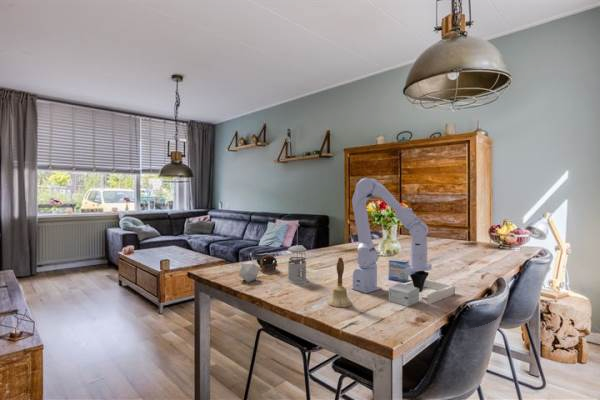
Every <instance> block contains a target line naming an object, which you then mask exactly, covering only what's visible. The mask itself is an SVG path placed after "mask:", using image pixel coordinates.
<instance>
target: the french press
mask: <svg viewBox="0 0 600 400" xmlns="http://www.w3.org/2000/svg"><path fill="white" fill-rule="evenodd" d="M295 227H296V245H292V246H290V247H288V248H287V250H288V251H289V252H293V253H296V256H292V257H291V256H290V257H289V258H288V259H289V260H288V261H287V265H288V268H287V271H288V272H287V274H288V277H287V279H286V280H285V281H286V283H288V284H294V285H300V284H306V283H309V279H308V278H307V266H306V265H307V260H306V257H305V256H304V257H303V255H306V251H307V248H305V247H304V246H302V245H299V244H298V243H299V242H298V239H299V238H298V234H299V233H298V231H299V230H298V228H299V227H300V223H298V222H297V223H295ZM298 253H299V255H301V256H298Z"/></svg>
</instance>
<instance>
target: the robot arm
mask: <svg viewBox="0 0 600 400" xmlns="http://www.w3.org/2000/svg"><path fill="white" fill-rule="evenodd" d="M373 196H374V197H377V198H381V200H383V202H385V203H386V205H388V206H389V207H390V208H391V209H392V210H393V211H394V212H395V218H396V219H397V220H398V221H399V222H400V223H401V224H402V225H403V227H405V229H406V230H408V232H409V235H410V237H411V238H410V239H411V241H410V265H409V267H408V268H407V269H405V274H406V275H408V276H409V277H410V278H411V281H413V285H414V287H417V288H419V293H422V292H423V288H424V287H423V285H424V282H425V280H426V279H427V278H428V277H429V272H427V271H431V270H432V267H433V266H432V263H428V236H427V235H428V233H429V227H428V225H427V223H426V222H424V221H422V220H423V219H422V218H419V217H418V216H417V215H416V214H415V213H414V210H413V209H412V207H408V206H403V205H402V204H401V203H399V201H398V200H397V199H396V197H394V195H393V194H392V193H391V192H390V191H389V190H388V188H387V187H385V186H384V185H383V184H382V183H381V182H379V180H378V179H376V178H372V177H371V178H369V177H363V178H361V179H359V181H358V182H357V183H356V184H355V190H354V193H353V195H352V198H351V203H352V204H351V205H352V208H353V214H354V222H355V228H356V233H357V239H358V246H357V255H356V262H357V264H358V266H357V268H355V269H354V270H353V272H352V286H351V287H350V288H351V289H352V290H355V291H357V292H361V293H365V294H368V293H372V292H375V291H378V290H381V289H382V287H381V286H378V285H377V284H378V282H377V281H378V264H377V261H378V260H379V257H380V256H379V252H378V251H377V249H376V245H375V243H374V242H373V239H372V233H371V227H370V222H369V216H368V215H369V214H368V210H367V209H368V208H367V204H366V203H367V202H368V200H369V199H371V197H373Z"/></svg>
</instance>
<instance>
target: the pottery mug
mask: <svg viewBox="0 0 600 400" xmlns="http://www.w3.org/2000/svg"><path fill="white" fill-rule="evenodd" d="M256 263H257V265H258V266H259V269H260V270H261V271H260V272H262V273H263V274H264V273H265V272H266V271H271V270H274V269H276V267H278V266H279V265H278V261H277V258H276V257H275V256H273V255H264V256H263V257H261V256H258V257H257V258H256Z"/></svg>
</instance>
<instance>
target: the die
mask: <svg viewBox="0 0 600 400" xmlns="http://www.w3.org/2000/svg"><path fill="white" fill-rule="evenodd" d="M240 266H241V267H240V268H239V272H238V276H239V277H240V278H242V279H243V280H244V281H246V282H247V283H250V282H252V281H255V280H256V279H257V278H258V275H259V270H260V267H259V266H257V265H256V264H255V263H254V262H252V261H247V262H243V263H242V264H241V265H240Z"/></svg>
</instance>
